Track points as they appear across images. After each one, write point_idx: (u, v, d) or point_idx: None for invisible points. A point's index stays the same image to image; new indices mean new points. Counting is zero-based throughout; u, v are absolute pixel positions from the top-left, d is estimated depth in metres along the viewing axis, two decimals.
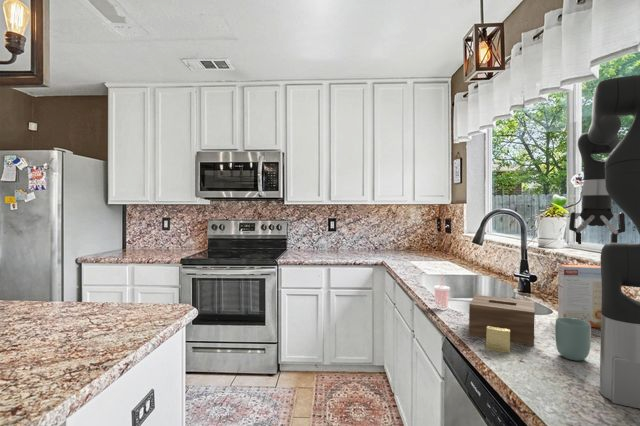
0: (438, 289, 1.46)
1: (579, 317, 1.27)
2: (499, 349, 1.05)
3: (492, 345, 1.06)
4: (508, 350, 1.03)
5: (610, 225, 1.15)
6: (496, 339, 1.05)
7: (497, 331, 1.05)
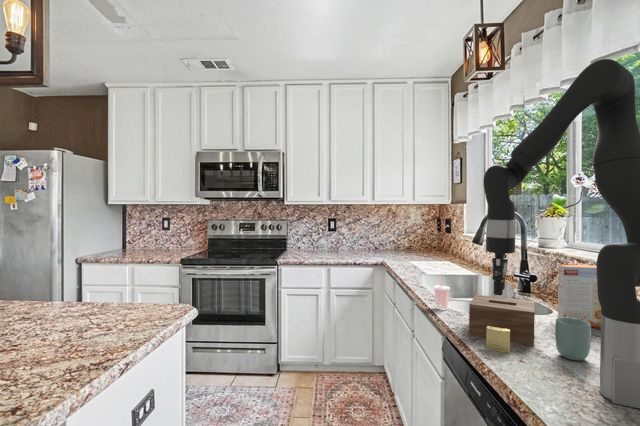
0: (438, 289, 1.46)
1: (579, 317, 1.27)
2: (499, 349, 1.05)
3: (492, 345, 1.06)
4: (508, 350, 1.03)
5: None
6: (496, 339, 1.05)
7: (497, 331, 1.05)
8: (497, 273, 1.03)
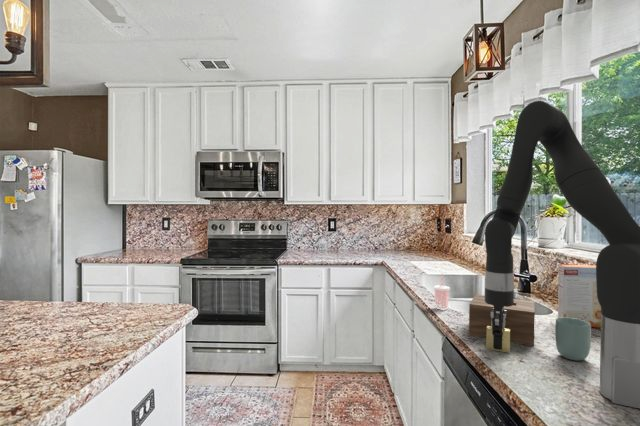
0: (438, 289, 1.46)
1: (579, 317, 1.27)
2: None
3: (492, 344, 1.06)
4: (508, 349, 1.03)
5: (505, 323, 1.06)
6: None
7: None
8: None
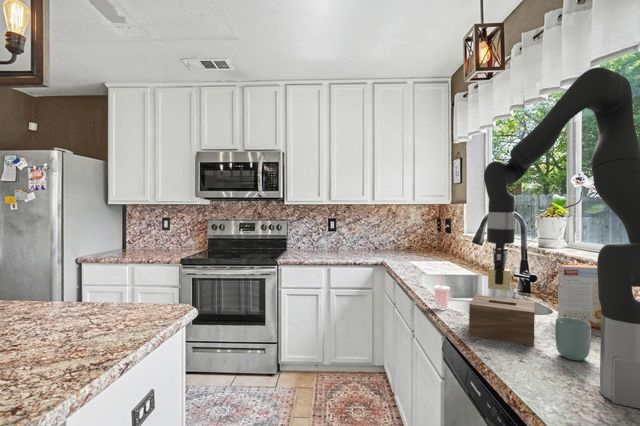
0: (438, 289, 1.46)
1: (579, 317, 1.27)
2: (500, 287, 1.12)
3: (493, 284, 1.13)
4: (508, 288, 1.11)
5: None
6: None
7: None
8: None
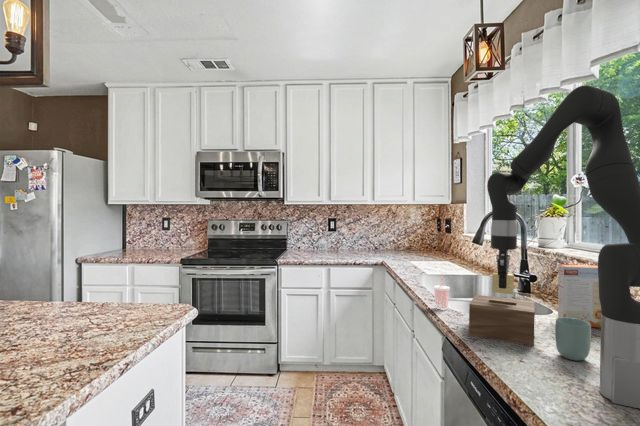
0: (438, 289, 1.46)
1: (579, 317, 1.27)
2: (503, 291, 1.18)
3: (497, 288, 1.19)
4: (511, 291, 1.17)
5: None
6: None
7: None
8: None
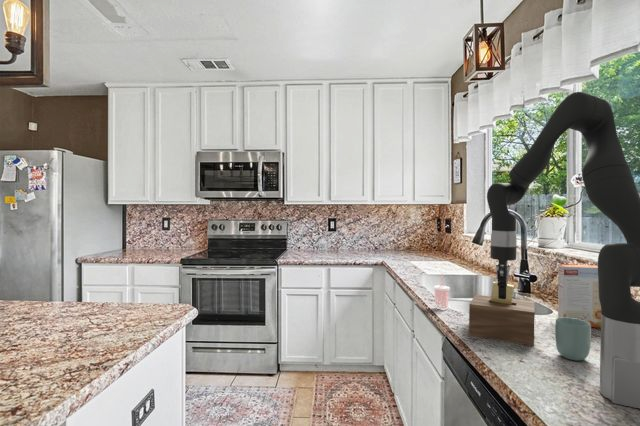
0: (438, 289, 1.46)
1: (579, 317, 1.27)
2: (502, 301, 1.18)
3: (496, 297, 1.19)
4: (510, 302, 1.17)
5: None
6: None
7: None
8: None
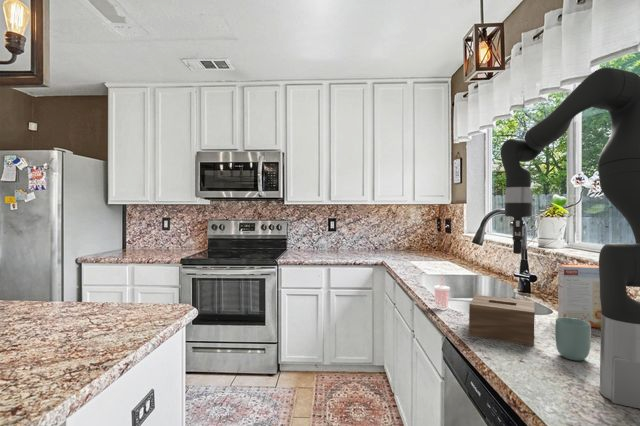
0: (438, 289, 1.46)
1: (579, 317, 1.27)
2: None
3: None
4: None
5: None
6: None
7: None
8: (516, 234, 1.15)
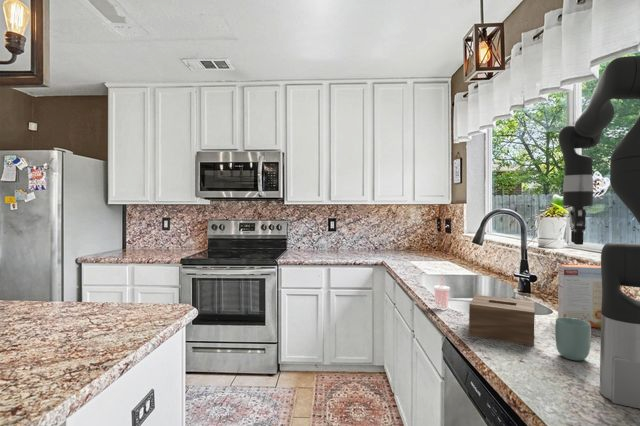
0: (438, 289, 1.46)
1: (579, 317, 1.27)
2: None
3: None
4: None
5: None
6: None
7: None
8: (577, 224, 1.10)
